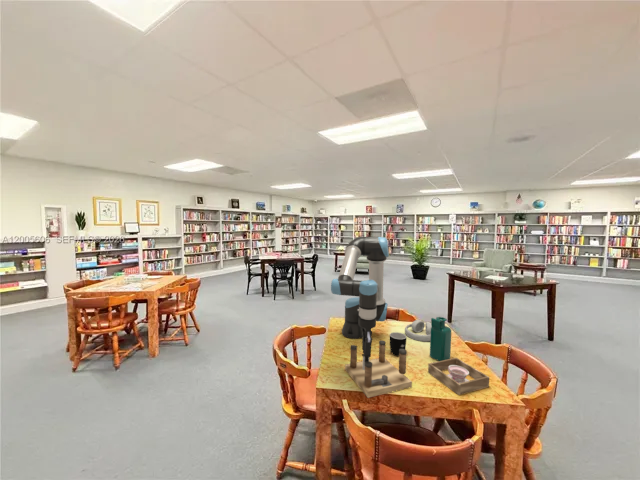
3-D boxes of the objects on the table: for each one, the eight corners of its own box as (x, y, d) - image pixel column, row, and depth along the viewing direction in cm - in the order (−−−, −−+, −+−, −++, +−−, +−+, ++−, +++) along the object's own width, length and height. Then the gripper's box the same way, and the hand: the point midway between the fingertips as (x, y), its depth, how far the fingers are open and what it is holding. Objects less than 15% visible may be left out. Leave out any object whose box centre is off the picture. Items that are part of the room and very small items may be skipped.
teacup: (478, 385, 115) (478, 372, 115) (464, 395, 109) (464, 381, 108) (452, 372, 125) (452, 360, 125) (437, 380, 119) (438, 367, 118)
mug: (400, 359, 137) (401, 340, 137) (386, 353, 143) (386, 335, 143) (411, 351, 146) (411, 334, 145) (396, 346, 152) (397, 329, 151)
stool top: (345, 369, 127) (345, 344, 126) (383, 361, 134) (384, 338, 133) (367, 397, 106) (368, 368, 105) (411, 387, 113) (412, 359, 113)
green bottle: (437, 352, 145) (438, 313, 144) (451, 358, 138) (453, 318, 137) (426, 357, 140) (428, 317, 138) (441, 364, 133) (443, 322, 131)
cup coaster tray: (428, 372, 125) (428, 363, 125) (455, 366, 131) (456, 357, 131) (458, 395, 108) (459, 384, 108) (488, 386, 114) (489, 377, 114)
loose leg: (396, 370, 116) (397, 349, 115) (402, 369, 117) (403, 348, 116) (401, 374, 113) (402, 352, 112) (407, 373, 114) (408, 351, 113)
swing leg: (366, 387, 108) (366, 365, 107) (362, 383, 111) (363, 361, 110) (389, 383, 111) (389, 362, 110) (385, 379, 114) (385, 358, 113)
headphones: (412, 326, 181) (400, 339, 166) (412, 315, 180) (400, 328, 165) (440, 333, 170) (430, 348, 155) (440, 322, 168) (430, 336, 153)
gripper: (356, 311, 119) (355, 361, 120) (360, 322, 106) (359, 377, 107) (373, 311, 119) (371, 361, 120) (379, 322, 106) (377, 378, 107)
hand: (365, 369), depth 114 cm, fingers closed
